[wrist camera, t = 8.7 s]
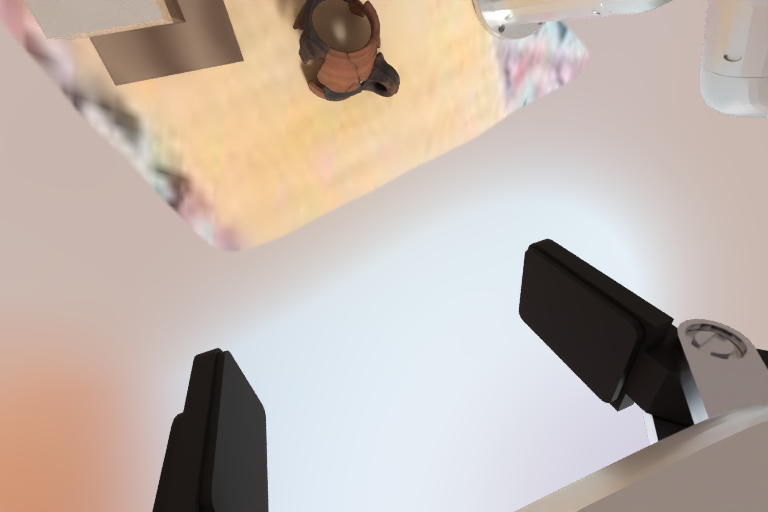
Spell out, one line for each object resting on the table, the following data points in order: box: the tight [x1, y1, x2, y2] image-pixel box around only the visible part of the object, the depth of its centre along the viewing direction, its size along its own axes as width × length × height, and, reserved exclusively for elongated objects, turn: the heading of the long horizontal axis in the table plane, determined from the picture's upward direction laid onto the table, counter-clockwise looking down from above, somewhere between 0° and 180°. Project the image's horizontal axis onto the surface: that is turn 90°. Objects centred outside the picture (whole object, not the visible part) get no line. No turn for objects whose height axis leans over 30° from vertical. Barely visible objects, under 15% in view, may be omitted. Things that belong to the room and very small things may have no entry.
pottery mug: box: [293, 0, 400, 101], centre depth 36 cm, size 12×10×8 cm
